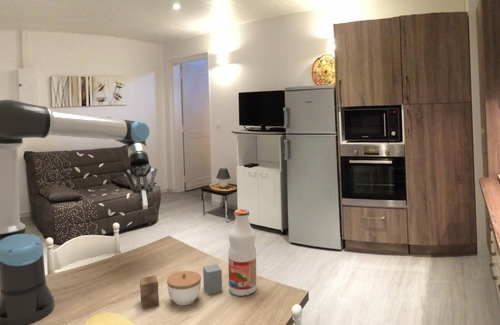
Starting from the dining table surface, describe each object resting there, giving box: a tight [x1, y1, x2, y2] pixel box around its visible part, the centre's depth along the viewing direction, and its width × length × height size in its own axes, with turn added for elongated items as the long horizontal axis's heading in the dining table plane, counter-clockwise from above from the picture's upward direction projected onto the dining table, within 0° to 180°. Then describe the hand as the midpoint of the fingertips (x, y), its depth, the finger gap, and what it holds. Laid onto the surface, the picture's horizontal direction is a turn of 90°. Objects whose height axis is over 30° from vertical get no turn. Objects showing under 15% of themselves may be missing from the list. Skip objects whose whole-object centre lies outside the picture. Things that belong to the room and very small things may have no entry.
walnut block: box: [139, 274, 160, 310], centre depth 113 cm, size 5×5×8 cm
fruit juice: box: [227, 208, 257, 297], centre depth 119 cm, size 9×9×28 cm
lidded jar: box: [166, 270, 202, 306], centre depth 114 cm, size 11×11×9 cm
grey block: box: [202, 263, 223, 296], centre depth 121 cm, size 5×5×8 cm
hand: (145, 207), depth 130 cm, fingers closed
